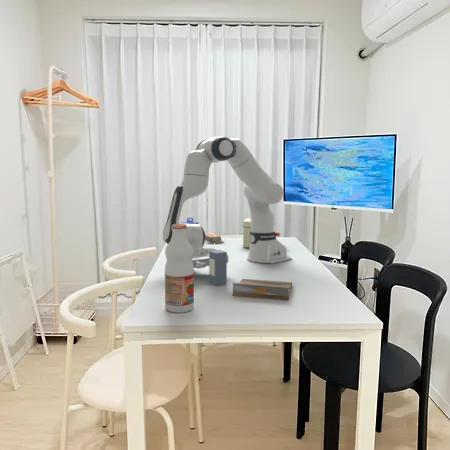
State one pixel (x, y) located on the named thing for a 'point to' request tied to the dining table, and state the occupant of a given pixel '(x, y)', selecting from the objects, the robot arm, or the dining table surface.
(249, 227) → the gift box
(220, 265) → the carton
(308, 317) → the dining table surface
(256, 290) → the shelf board
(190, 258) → the fruit juice
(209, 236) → the packaged product
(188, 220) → the ink cartridge box
